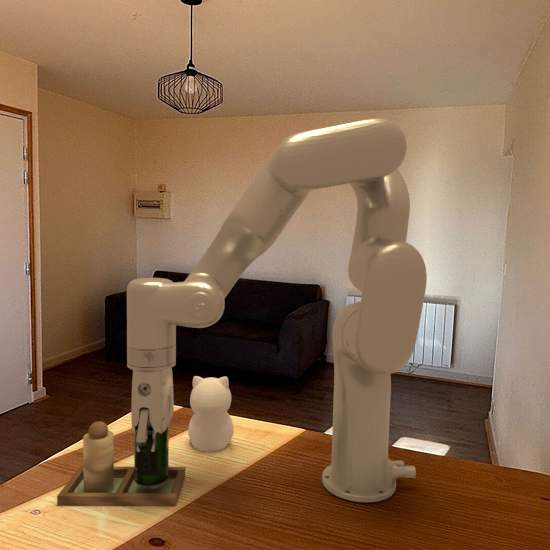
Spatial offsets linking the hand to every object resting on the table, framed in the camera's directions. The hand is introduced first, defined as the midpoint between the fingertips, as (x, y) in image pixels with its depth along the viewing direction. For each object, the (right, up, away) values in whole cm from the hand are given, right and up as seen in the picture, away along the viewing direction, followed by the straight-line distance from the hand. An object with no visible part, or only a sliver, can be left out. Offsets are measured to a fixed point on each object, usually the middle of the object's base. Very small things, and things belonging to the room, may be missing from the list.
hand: (152, 464), depth 80 cm
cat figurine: (+7, -4, +20) cm, 21 cm away
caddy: (-4, -5, 0) cm, 7 cm away
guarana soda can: (0, -3, 0) cm, 3 cm away
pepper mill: (-9, -4, 0) cm, 10 cm away
